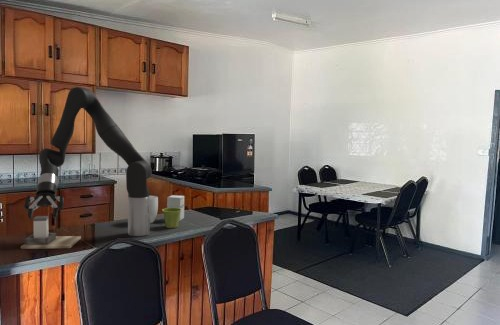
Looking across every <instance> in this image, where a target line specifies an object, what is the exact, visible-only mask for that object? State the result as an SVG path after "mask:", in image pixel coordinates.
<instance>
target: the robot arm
mask: <svg viewBox="0 0 500 325" xmlns="http://www.w3.org/2000/svg"><path fill="white" fill-rule="evenodd" d="M81 109H83V110H84V111H85V112H86V113H87V114H88V115H89V117H91V119H92V121H93V123H94V127H95V130H96V133H97V135H98V136H99V137H100V139H101V141H103V143H104V144H105V145H106V146H107V148H109V149H110V150H111V151H112V152H113V153H115V154H116V155H117V156H119V157H121V159H122V160H123V161H124V162H125V163H126V165H127V168H126V172H125V174H126V175H125V178H126V179H125V183H126V184H125V185H126V192H127V197H128V198H127V234H128V236H129V237H130V236H131V237H144V236H148V235H149V234H150V230H151V229H150V228H151V227H150V226H151V223H150V212H149V196H150V190H149V189H148V184H147V183H148V182H147V181H148V180H149V179H150V177H151V176H152V173H153V170H152V167H151V165H150V164H149V162H148V161H147V160H146V159H145V158H144V157H143V156H142V155H141V154H140V153H139V152H138V151H137V149H135V147H134V146H133V144H132V143H131V141H130V140H129V139H128V137H127V136H126V135H125V133H124V132H123V130H122V129H121V128H120V126H119V125H118V124H117V123H116V121H114V119H113V118H112V117H111V116H110V114H109V113H108V112H107V111H106V109H105V108H104V107H103V105H102V104H101V102H100V100H99V98H98V97H97V96H96V94H95V92H93V91H92V90H91V89H90V88H85V87H82V86H81V87H80V86H75V87H73V88H71V89H70V90H69V92H68V93H67V96H66V99H65V105H64V108H63V110H62V114H61V118H60V120H59V124H58V126H57V128H56V130H55V132H54V134H53V135H52V138H51V141H50V144H51V145H52V146H53V147H55V148H57V149H58V150H54V149H52V148H49V147H47V148H43V149H42V150H41V151H40V152H39V156H38V160H39V164H40V175H39V178H38V183H37V187H36V193H35V195H34V196H31V195H27V196H26V199H25V202H24V205H23V207H24V210H25V211H27V212H28V213H27V217H28V218H29V220H33V216H34V211H35V210H37V209H38V208H39V207H41V208H43V207H51V208H52V209H53V211H52V218H53V219H56V217H57V218H58V214H59V212H58V211H60V210H61V211H62V210H63V209H64V200H65V199H64V195H63V194H60V195H59V196H57V189H58V186H59V182H58V179H59V174H60V171H59V170H60V169H59V167H62V166H63V165H64V164H65V159H66V152H67V148H68V146H69V143H70V141H71V139H72V137H73V134H74V131H75V121H76V118H77V115H78V114H79V112H80V110H81ZM56 201H58V202H59V205H57V203H55V202H56Z"/></svg>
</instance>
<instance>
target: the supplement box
mask: <svg viewBox="0 0 500 325" xmlns="http://www.w3.org/2000/svg"><path fill="white" fill-rule="evenodd" d="M166 199H167V201H166V204H167V205H166V208H180V209H182V210H181V212H180V216H179V222H180V221H182V220H183V219H185V195H176V194H175V195H174V194H171V195H170V196H167V198H166Z"/></svg>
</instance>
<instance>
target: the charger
mask: <svg viewBox="0 0 500 325" xmlns="http://www.w3.org/2000/svg"><path fill="white" fill-rule="evenodd" d="M32 220H33V233H34V238H47V237H48V236H49V233H50V232H49V215H36V216H35V217H33V218H32Z"/></svg>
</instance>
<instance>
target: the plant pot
mask: <svg viewBox="0 0 500 325" xmlns="http://www.w3.org/2000/svg"><path fill="white" fill-rule="evenodd" d="M181 210H182V209H180V208H167V207H166V208H162V209H161V211H162V213H163V218H164V225H165V228H167V229H172V228H174V229H176V228H178V227H179V222H180V221H179V216H180V212H181Z"/></svg>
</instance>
